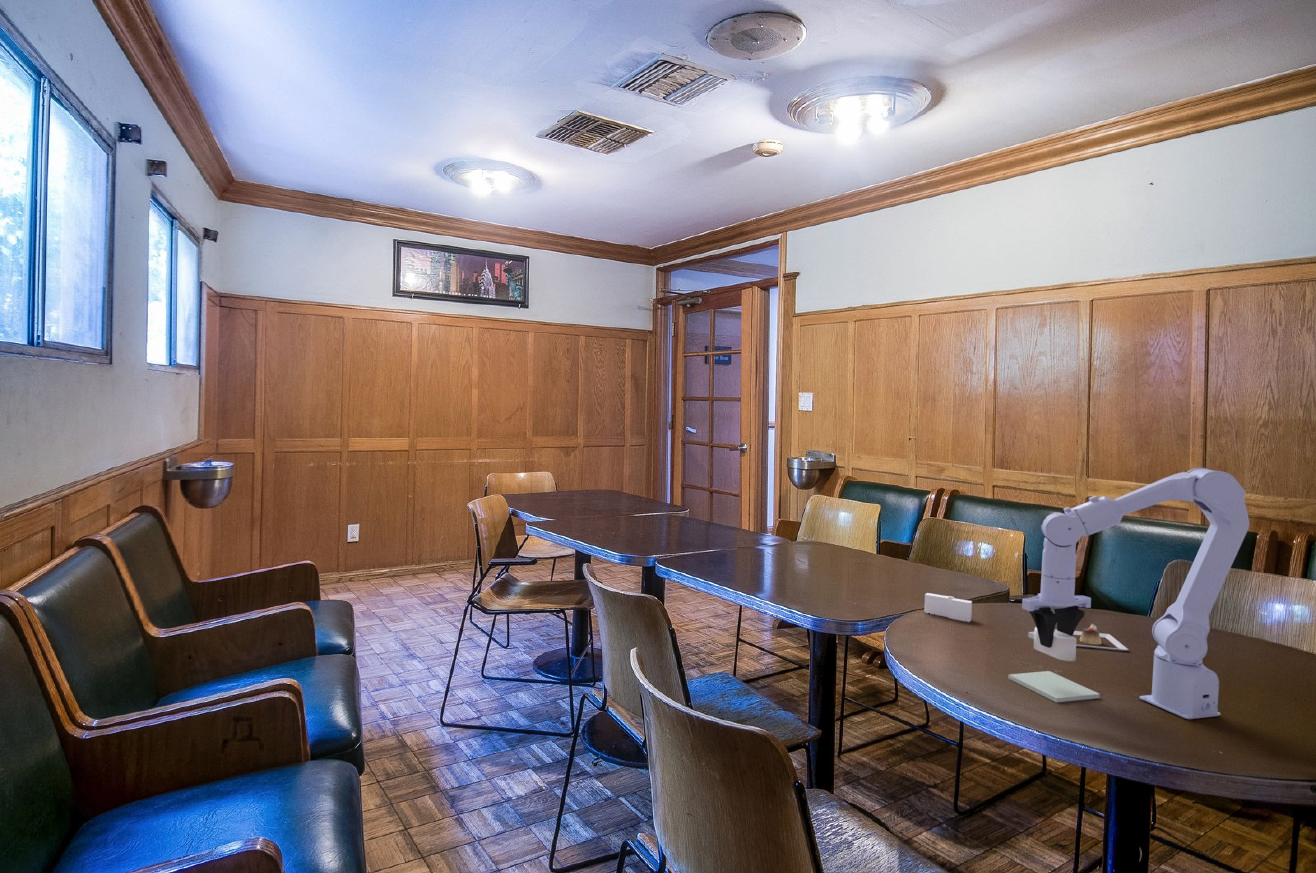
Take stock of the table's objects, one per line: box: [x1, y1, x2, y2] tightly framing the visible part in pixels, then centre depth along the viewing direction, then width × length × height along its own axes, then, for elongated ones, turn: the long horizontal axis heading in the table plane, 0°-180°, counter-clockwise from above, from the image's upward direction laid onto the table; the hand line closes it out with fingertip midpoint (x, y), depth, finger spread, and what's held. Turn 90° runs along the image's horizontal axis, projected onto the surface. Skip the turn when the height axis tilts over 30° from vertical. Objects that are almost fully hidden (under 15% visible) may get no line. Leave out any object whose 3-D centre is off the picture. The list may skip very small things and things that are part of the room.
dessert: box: [1054, 623, 1130, 652], centre depth 170 cm, size 12×12×5 cm
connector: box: [1027, 626, 1077, 662], centre depth 140 cm, size 10×4×4 cm, turn 16°
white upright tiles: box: [923, 592, 973, 623], centre depth 187 cm, size 15×11×6 cm
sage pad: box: [1007, 670, 1101, 703], centre depth 140 cm, size 12×10×1 cm
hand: (1054, 645), depth 140 cm, fingers closed on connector, 4 cm apart
